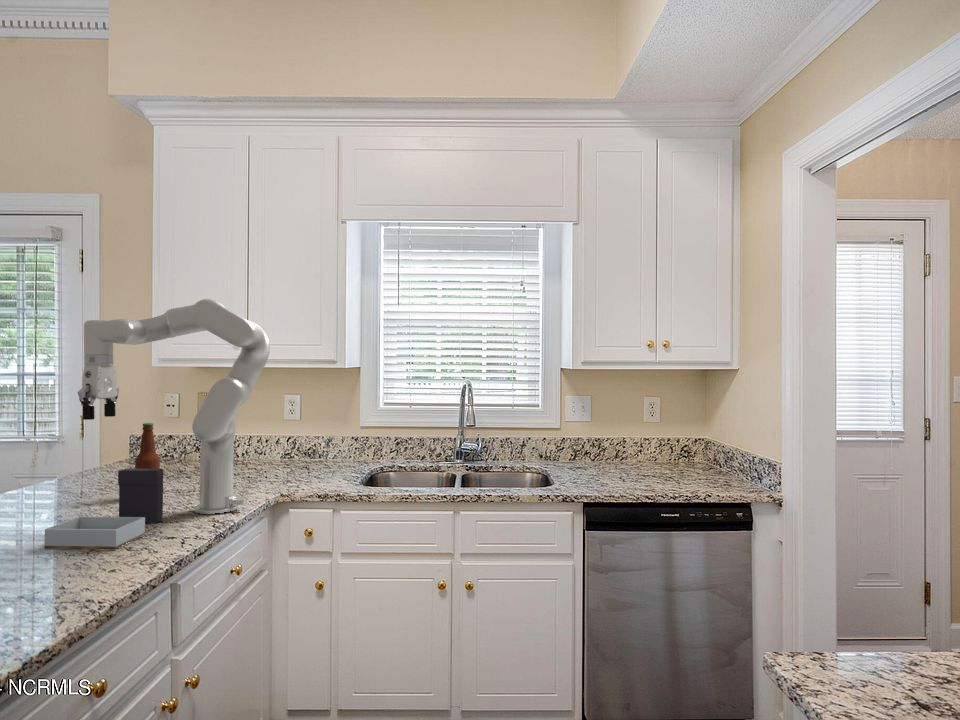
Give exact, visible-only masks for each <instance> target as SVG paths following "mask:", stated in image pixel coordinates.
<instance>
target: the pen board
mask: <svg viewBox="0 0 960 720" xmlns="http://www.w3.org/2000/svg"><path fill="white" fill-rule="evenodd" d="M143 535H145V536H146V532H145V533H143V534H141V535H139V536H137V537H135V538H133V539H131V540H129V541H127V542H125V543H123V544H121V545H118V546H116V547H102V546H45V545H44V550H82V549H117V548H119V547H121V546H122V545H125V544H126V543H128V542H131V541H133V540H135V539H137V538H139V537H141V536H143ZM143 537H144V536H143ZM141 538H142V537H141ZM139 539H140V538H139ZM137 540H138V539H137ZM135 541H136V540H135ZM133 542H134V541H133ZM131 543H132V542H131ZM125 546H126V545H125ZM121 548H122V547H121ZM119 549H120V548H119ZM117 550H118V549H117Z"/></svg>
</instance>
